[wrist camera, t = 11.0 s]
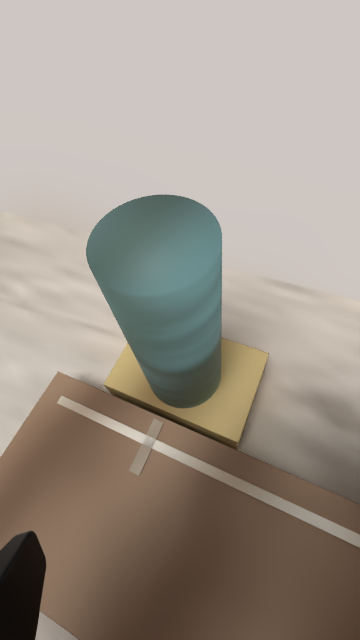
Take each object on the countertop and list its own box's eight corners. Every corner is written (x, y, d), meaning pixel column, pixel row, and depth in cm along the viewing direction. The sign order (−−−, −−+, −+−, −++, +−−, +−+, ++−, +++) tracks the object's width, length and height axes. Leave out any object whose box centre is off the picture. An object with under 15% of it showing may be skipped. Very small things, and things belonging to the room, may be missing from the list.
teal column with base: (264, 369, 18) (311, 204, 9) (236, 451, 16) (258, 349, 7) (152, 329, 20) (93, 162, 11) (114, 397, 18) (2, 263, 9)
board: (491, 573, 13) (536, 581, 11) (494, 903, 9) (561, 995, 7) (72, 385, 19) (57, 370, 17) (-25, 539, 15) (-58, 540, 13)
